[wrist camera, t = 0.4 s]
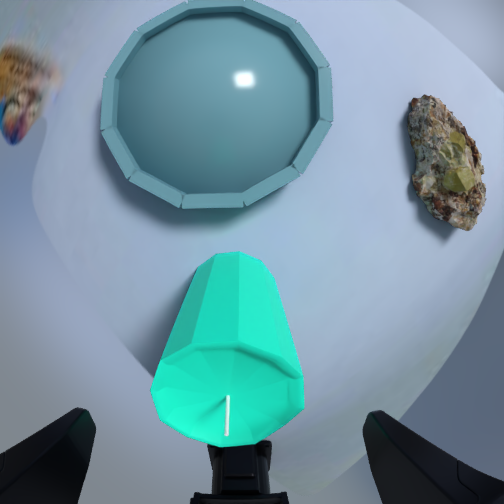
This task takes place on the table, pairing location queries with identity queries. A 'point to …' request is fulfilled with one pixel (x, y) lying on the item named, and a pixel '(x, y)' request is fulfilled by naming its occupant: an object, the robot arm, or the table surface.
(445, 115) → the mineral rock
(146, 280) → the table surface
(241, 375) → the candle
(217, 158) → the dish
